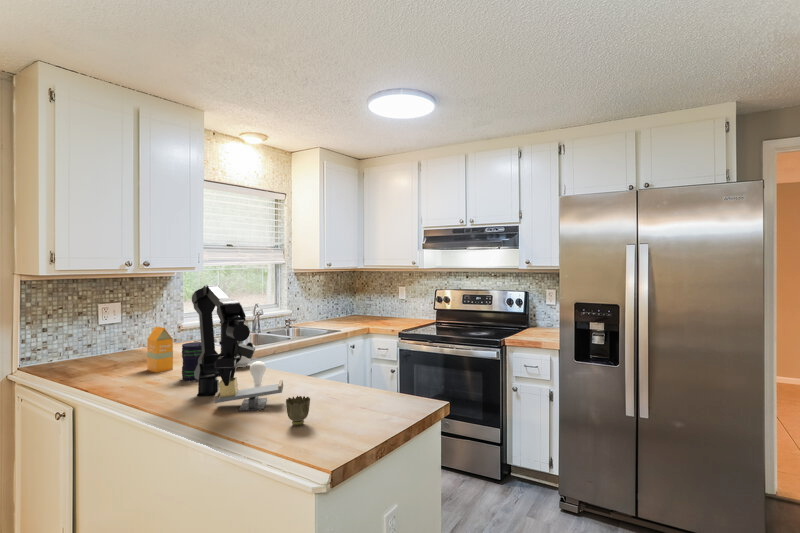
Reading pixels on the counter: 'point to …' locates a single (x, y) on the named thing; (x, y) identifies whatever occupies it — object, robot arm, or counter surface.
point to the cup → (297, 409)
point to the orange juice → (159, 351)
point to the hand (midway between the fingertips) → (229, 382)
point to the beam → (251, 392)
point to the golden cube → (228, 388)
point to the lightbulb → (257, 372)
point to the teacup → (243, 361)
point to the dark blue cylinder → (190, 360)
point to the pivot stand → (253, 404)
